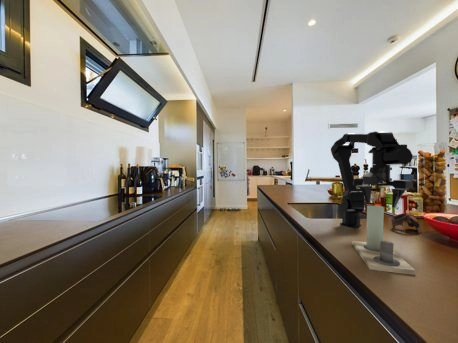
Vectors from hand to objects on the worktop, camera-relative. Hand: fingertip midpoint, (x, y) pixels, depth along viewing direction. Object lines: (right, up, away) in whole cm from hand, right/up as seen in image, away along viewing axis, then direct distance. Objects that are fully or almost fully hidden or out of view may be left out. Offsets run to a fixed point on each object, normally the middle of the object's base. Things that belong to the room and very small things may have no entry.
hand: (380, 205), depth 88 cm
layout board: (-13, -13, -19) cm, 26 cm away
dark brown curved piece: (+18, -12, +10) cm, 24 cm away
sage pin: (-12, -11, -15) cm, 22 cm away
